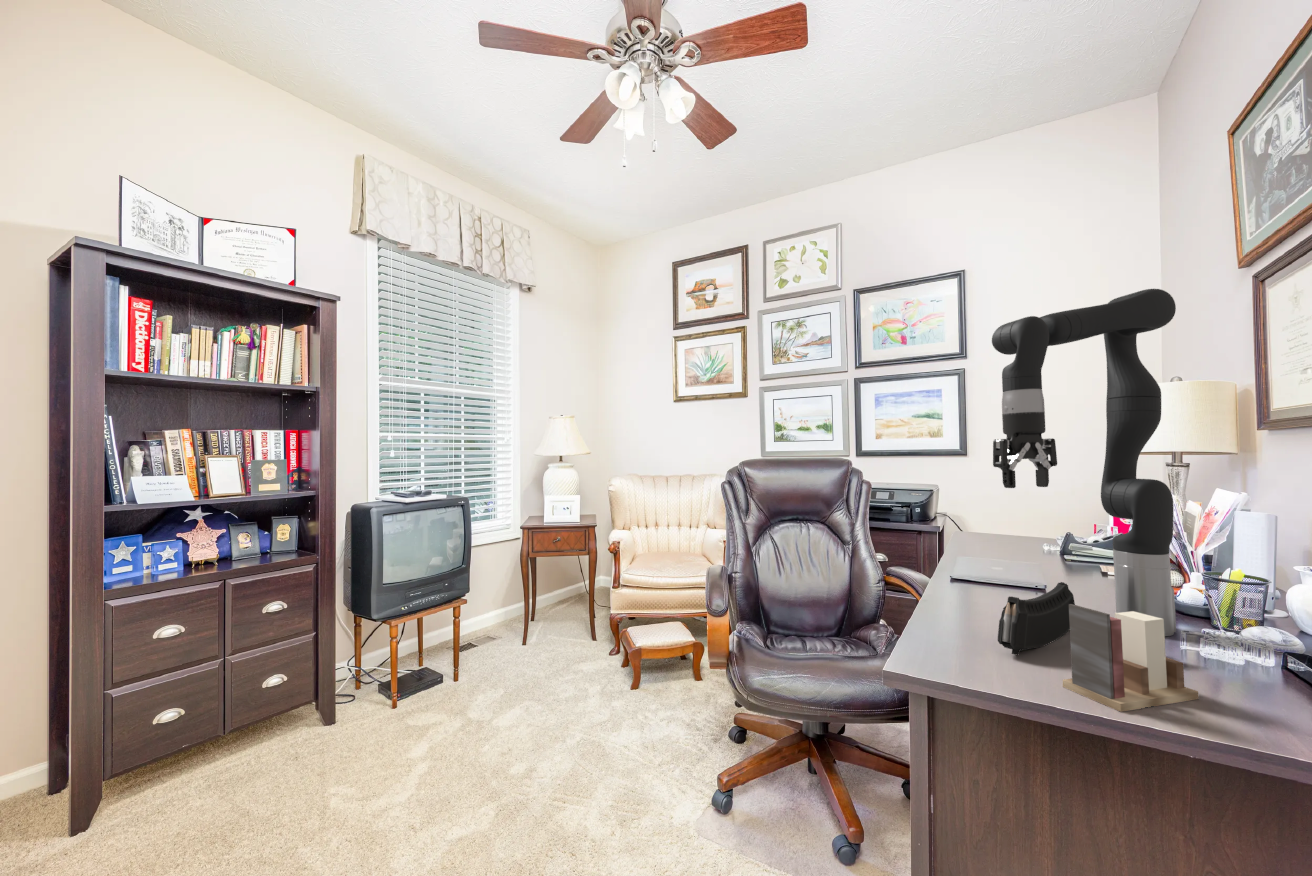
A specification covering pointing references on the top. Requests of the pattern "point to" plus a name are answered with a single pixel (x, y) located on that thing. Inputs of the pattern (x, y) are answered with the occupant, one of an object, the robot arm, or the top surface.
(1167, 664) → the book rack
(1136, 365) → the robot arm
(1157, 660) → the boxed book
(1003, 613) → the magazine
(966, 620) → the top surface
